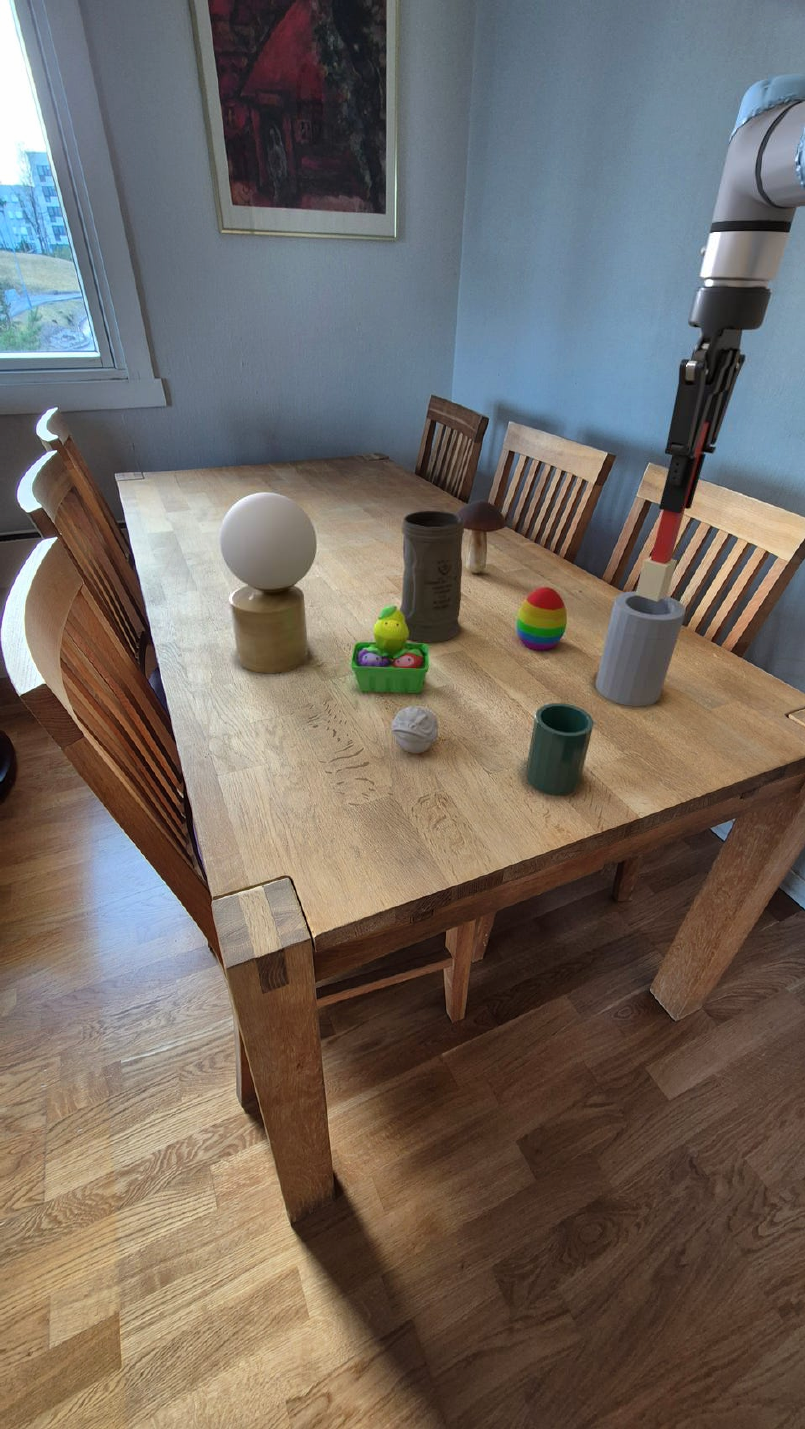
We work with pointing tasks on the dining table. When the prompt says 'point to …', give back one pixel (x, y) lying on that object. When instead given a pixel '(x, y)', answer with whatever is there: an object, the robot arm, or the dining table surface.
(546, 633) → the decorative egg
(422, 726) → the grey wrinkled ball
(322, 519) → the dining table surface
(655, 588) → the paint brush
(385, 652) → the fruit basket
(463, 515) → the decorative mushroom
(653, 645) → the vase
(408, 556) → the dark grey hollow cylinder
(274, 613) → the lamp
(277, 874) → the dining table surface
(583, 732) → the pen pot
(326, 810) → the dining table surface
